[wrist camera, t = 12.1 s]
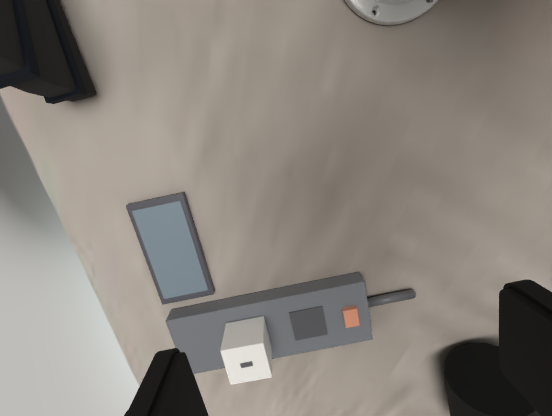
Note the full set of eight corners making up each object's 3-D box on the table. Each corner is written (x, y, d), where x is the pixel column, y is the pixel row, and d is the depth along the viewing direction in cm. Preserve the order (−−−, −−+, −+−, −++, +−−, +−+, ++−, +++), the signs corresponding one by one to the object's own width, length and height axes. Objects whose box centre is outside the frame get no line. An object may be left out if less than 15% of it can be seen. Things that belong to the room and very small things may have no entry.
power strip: (410, 261, 39) (422, 273, 36) (415, 317, 42) (427, 333, 39) (171, 309, 41) (163, 324, 38) (190, 361, 43) (184, 379, 40)
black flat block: (72, 132, 32) (-125, 31, 17) (58, 28, 34) (-128, -143, 19) (105, 123, 32) (-66, 13, 17) (88, 19, 34) (-76, -161, 19)
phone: (184, 191, 36) (182, 193, 35) (214, 290, 40) (213, 294, 39) (129, 203, 36) (125, 205, 35) (164, 300, 40) (162, 304, 39)
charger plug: (264, 305, 40) (263, 343, 33) (271, 336, 42) (272, 377, 35) (228, 312, 40) (220, 351, 34) (236, 342, 42) (230, 385, 35)
